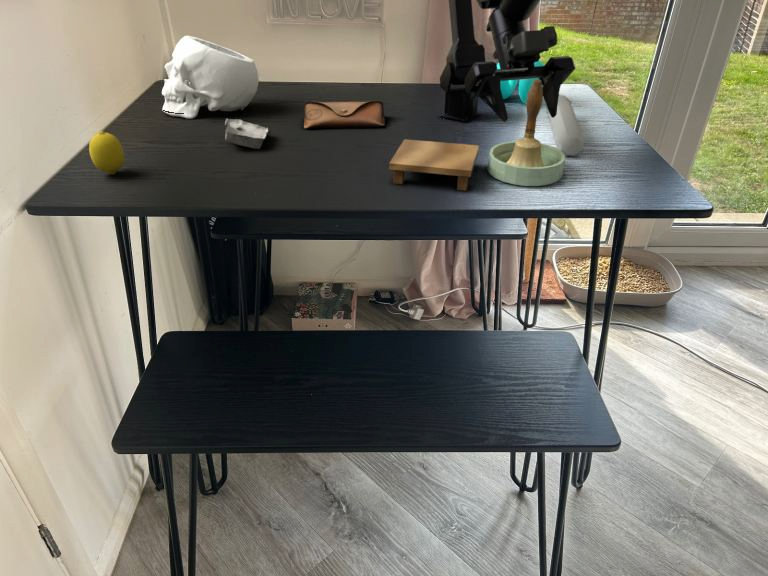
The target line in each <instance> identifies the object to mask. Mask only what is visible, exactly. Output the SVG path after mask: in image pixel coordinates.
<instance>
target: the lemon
mask: <svg viewBox="0 0 768 576" xmlns="http://www.w3.org/2000/svg"><path fill="white" fill-rule="evenodd" d="M124 151H125V150H124V148H123V146H122V144H121V141H119V139H118V138H117V137H116V136H115V135H114V134H112V133H109V132H105V131H103V130H100V131H98V132H97V133H96V134H94V135H93V136H92V137H91V139H90V141H89V145H88V152H89V156H90V159H91V161H92V163H93V165H94V167H96V168H97V169H98V170H99V171H101V172H105V173H108V174H110V175H115V174H116V172H117V171H120V169H121V168H122V167H123V165H124V163H125V152H124Z"/></svg>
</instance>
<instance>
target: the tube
mask: <svg viewBox="0 0 768 576" xmlns="http://www.w3.org/2000/svg"><path fill="white" fill-rule="evenodd" d="M545 112H546V114H547V115H548V119H549V123H550V127H551V130H552V135H553V138H554V142H555V147H556V148H557V149H559V150H560V151H562V152H563V154H564V155H565V157H576V156H577V155H578V154H579V153H580V152H581V151H582V150H583V147H584V142H585V137H584V134H583V132H582V129H581V126H580V125H579V122H578V118H577V117H576V113H575V110H574V108H573V106H572V101H571V100H570V98H568V97H567V96H566V95H564V94H559V98H558V107H557V115H556V116H555V117H554V118H552V117H551V115H550V113H549V111H548V108H547V107H546V110H545Z"/></svg>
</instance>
